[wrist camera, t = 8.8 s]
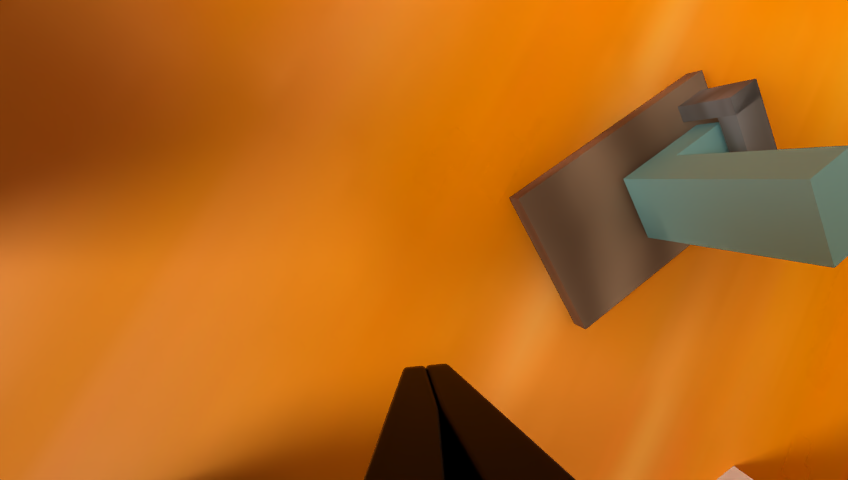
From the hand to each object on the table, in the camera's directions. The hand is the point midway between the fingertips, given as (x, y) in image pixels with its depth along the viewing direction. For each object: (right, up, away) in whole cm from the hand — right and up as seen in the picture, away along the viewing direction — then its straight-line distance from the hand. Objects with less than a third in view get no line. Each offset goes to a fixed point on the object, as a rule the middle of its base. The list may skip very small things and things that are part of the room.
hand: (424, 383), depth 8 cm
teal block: (+16, +7, +17) cm, 24 cm away
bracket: (+13, +5, +18) cm, 22 cm away
